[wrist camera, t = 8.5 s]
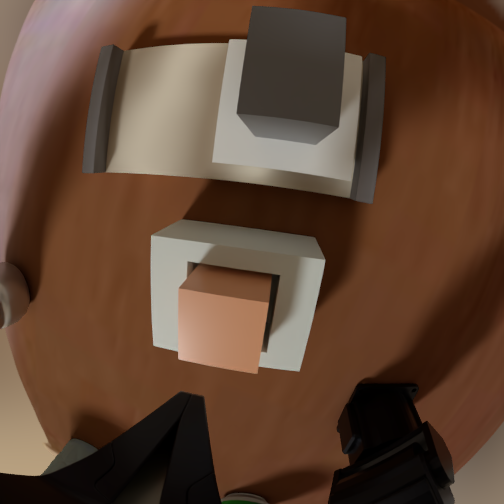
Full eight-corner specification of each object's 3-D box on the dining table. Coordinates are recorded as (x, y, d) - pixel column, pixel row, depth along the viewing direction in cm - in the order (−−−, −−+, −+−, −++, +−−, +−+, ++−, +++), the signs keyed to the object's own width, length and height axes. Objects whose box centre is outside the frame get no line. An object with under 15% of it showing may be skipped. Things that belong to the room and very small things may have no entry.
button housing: (315, 237, 19) (325, 260, 14) (296, 329, 21) (299, 371, 16) (181, 219, 19) (151, 235, 15) (178, 310, 21) (153, 345, 17)
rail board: (371, 71, 15) (385, 57, 12) (358, 198, 18) (372, 203, 15) (122, 58, 16) (101, 46, 14) (106, 171, 19) (82, 172, 16)
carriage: (351, 70, 14) (401, 3, 6) (340, 179, 16) (394, 189, 8) (236, 55, 14) (200, -22, 6) (222, 163, 16) (166, 157, 8)
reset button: (272, 271, 16) (268, 302, 12) (262, 332, 17) (257, 373, 13) (201, 260, 16) (178, 287, 12) (198, 321, 17) (178, 359, 14)
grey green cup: (126, 466, 31) (98, 523, 19) (110, 478, 33) (86, 525, 22) (69, 427, 30) (32, 479, 18) (62, 445, 32) (32, 489, 21)
